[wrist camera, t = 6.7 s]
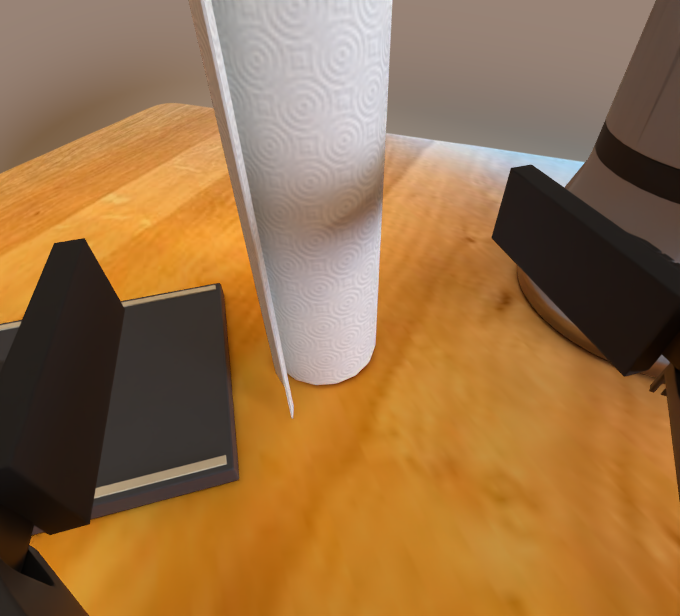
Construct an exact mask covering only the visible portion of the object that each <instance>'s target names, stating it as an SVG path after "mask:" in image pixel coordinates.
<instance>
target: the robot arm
mask: <svg viewBox="0 0 680 616" xmlns="http://www.w3.org/2000/svg"><path fill="white" fill-rule="evenodd" d="M492 239H493V240H494V241H495V242H496V243H497V244H498V245H499V246H500V247H501V248H502V249H503V250H504V252H505V253H506V254H507V255H508V256H509V257H510V258H511V259H512V260H513V261H514V262H515V263H516V264H517V275H518V280H519V283H520V286H521V288H522V290H523V292H524V294H525V296H526V298H527V299H528V301H529V302H530V304H531V305H532V306H533V308H534V309H535V310H536V311H537V312H538V313H539V314H540V315H541V316H542V318H543V319H544V320H545V321H547V322H548V323H549V324H550V325H551V326H552V327H553V328H555V329H556V330H557V331H558V332H560V333H561V334H562V335H564V336H565V337H567V338H568V339H570V340H571V341H572V342H574V343H575V344H577V345H579V346H580V347H582V348H584V349H586V350H587V351H589V352H591V353H593V354H595V355H597V356H599V357H601V358H603V359H605V360H607V361H610V362H611V363H612V364H613V365H614V367H615V368H616V369H617V370H618V371H619V372H620V373H621V374H622V375H623V376H624V377H625V376H629V375H632V374H636V373H642V374H645V375H648V376H652V377H656V379H655V380H654V382H653V383H652V384H651V385H650V389H649V391H650V392H655V391H656V390H657V389H658V387H659V386H660V385H661V384H665V385H666V388H665V389H664V391H663V392H662V393H661V395H664V396H667V402H668V410H669V418H670V426H671V435H672V443H673V451H674V459H675V467H676V476H677V484H678V492H679V500H680V0H656V1H655V4H654V6H653V9H652V11H651V13H650V16H649V18H648V20H647V23H646V25H645V27H644V30H643V32H642V34H641V37H640V40H639V42H638V44H637V46H636V49H635V51H634V53H633V56H632V58H631V61H630V63H629V65H628V68H627V70H626V72H625V74H624V77H623V79H622V82H621V84H620V86H619V89H618V91H617V93H616V96H615V98H614V101H613V103H612V105H611V108H610V110H609V112H608V115H607V117H606V120H605V122H604V125H603V127H602V130H601V132H600V134H599V137H598V139H597V142H596V143H595V146H594V148H593V151H592V153H591V155H590V157H589V158H588V160H587V161H586V162H585V163H584V164H583V166H582V167H581V168H580V169H579V171H578V172H577V173H576V174H575V175H574V177H573V178H572V179H571V180H570V181H569V183H568V184H567V185H566V186H565V188H564V187H563V186H561V185H560V184H558V183H557V182H555V181H554V180H553V179H551V178H550V177H548V176H547V175H546V174H544V173H543V172H541V171H540V170H539V169H537V168H536V167H534V166H533V165H526V166H520V167H514V168H511V170H510V174H509V177H508V181H507V184H506V188H505V192H504V195H503V199H502V202H501V206H500V210H499V213H498V217H497V220H496V224H495V228H494V231H493V235H492ZM124 313H125V308H124V307H123V305H122V303H121V301H120V300H119V298H118V296H117V294H116V293H115V291H114V289H113V287H112V286H111V284H110V282H109V280H108V279H107V277H106V275H105V273H104V272H103V270H102V268H101V266H100V265H99V263H98V261H97V259H96V258H95V256H94V254H93V252H92V251H91V249H90V247H89V245H88V244H87V242H86V240H85V238H83V239H77V240H71V241H65V242H59V243H54V245H53V248H52V250H51V252H50V255H49V257H48V259H47V262H46V264H45V267H44V269H43V271H42V274H41V276H40V279H39V281H38V283H37V286H36V288H35V290H34V293H33V295H32V298H31V300H30V302H29V305H28V307H27V310H26V312H25V314H24V317H23V319H22V321H21V324H20V326H19V329H18V331H17V333H16V336H15V338H14V341H13V343H12V345H11V348H10V350H9V353H8V355H7V357H6V360H4V361H0V616H89V615H88V614H87V613H86V611H85V610H84V609H83V608H82V606H81V605H80V604H79V602H78V601H77V600H76V599H75V597H74V596H73V595H72V594H71V592H70V591H69V590H68V589H67V587H66V586H65V585H64V584H63V582H62V581H61V580H60V579H59V577H58V576H57V575H56V574H55V572H54V571H53V570H52V568H51V567H50V566H49V565H48V563H47V562H46V561H45V560H44V558H43V557H42V556H41V555H40V553H39V552H38V551H37V550H36V549H35V548H33V547H31V546H30V545H29V543H30V539H31V536H32V532H33V528H34V526H36V527H37V528H39V529H41V530H42V531H44V532H46V533H47V534H49V535H52V534H55V533H59V532H62V531H66V530H70V529H73V528H77V527H81V526H84V525H88V524H90V520H91V514H92V508H93V502H94V496H95V489H96V483H97V477H98V471H99V465H100V459H101V453H102V447H103V441H104V435H105V429H106V423H107V417H108V411H109V404H110V398H111V392H112V386H113V380H114V374H115V368H116V362H117V356H118V350H119V344H120V338H121V332H122V326H123V320H124Z"/></svg>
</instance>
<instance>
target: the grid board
mask: <svg viewBox="0 0 680 616" xmlns="http://www.w3.org/2000/svg"><path fill="white" fill-rule="evenodd" d="M121 303H122V305H123V307H124V308H125V313H124V320H123V326H122V332H121V338H120V344H119V350H118V356H117V362H116V368H115V374H114V380H113V386H112V392H111V398H110V404H109V411H108V417H107V423H106V429H105V435H104V441H103V447H102V453H101V459H100V465H99V471H98V477H97V483H96V489H95V496H94V502H93V508H92V514H91V519H94V518H98V517H101V516H105V515H109V514H113V513H116V512H120V511H124V510H128V509H131V508H135V507H139V506H143V505H146V504H150V503H154V502H158V501H161V500H165V499H169V498H173V497H176V496H180V495H184V494H187V493H191V492H195V491H199V490H202V489H206V488H210V487H214V486H217V485H221V484H225V483H229V482H232V481H236V480H239V469H238V457H237V445H236V433H235V421H234V409H233V397H232V385H231V373H230V361H229V349H228V337H227V325H226V313H225V301H224V294H223V290H222V287H221V284H220V283H217V284H211V285H206V286H200V287H195V288H190V289H184V290H179V291H174V292H168V293H163V294H158V295H152V296H147V297H142V298H136V299H131V300H126V301H121ZM21 321H22V320H19V321H13V322H8V323H3V324H0V361H4V360H6V357H7V355H8V353H9V350H10V348H11V345H12V343H13V341H14V338H15V336H16V333H17V331H18V329H19V326H20V324H21ZM42 532H44V531H42V530H41V529H39V528H37V527H36V526H34V528H33V532H32V535H34V534H38V533H42Z"/></svg>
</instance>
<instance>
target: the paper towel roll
mask: <svg viewBox="0 0 680 616" xmlns="http://www.w3.org/2000/svg"><path fill="white" fill-rule="evenodd" d="M188 1H189V5H190V9H191V13H192V18H193V22H194V26H195V30H196V34H197V39H198V43H199V47H200V52H201V56H202V60H203V65H204V69H205V73H206V77H207V82H208V86H209V90H210V94H211V99H212V103H213V107H214V111H215V116H216V120H217V124H218V128H219V133H220V137H221V141H222V146H223V150H224V154H225V158H226V163H227V167H228V171H229V175H230V180H231V184H232V188H233V192H234V197H235V201H236V205H237V209H238V214H239V218H240V222H241V226H242V231H243V235H244V239H245V244H246V248H247V252H248V256H249V261H250V265H251V269H252V273H253V278H254V282H255V286H256V290H257V295H258V299H259V303H260V307H261V312H262V316H263V320H264V324H265V329H266V333H267V337H268V342H269V346H270V350H271V354H272V359H273V363H274V367H275V371H276V374H277V375H278V377H279V379H280V380H281V382H282V383H283V385H284V387H285V390H286V395H287V400H288V404H289V409H290V413H291V418H293V411H294V406H293V401H292V396H291V391H290V386H289V381H288V376H287V373H288V374H289V375H290V376H291V377H293V378H294V379H295V380H299V381H302V382H306V383H310V384H313V385H323V384H337V383H339V382H341V381H344V380H346V379H348V378H351V377H353V376H355V375H357V374H358V373H359V372H360V371H361V370H362V369H363V368H364V367H365V366H366V365H367V364H368V363H369V361H370V359H371V356H372V353H373V350H374V348H375V343H376V322H377V302H378V282H379V261H380V241H381V221H382V200H383V180H384V160H385V139H386V119H387V98H388V78H389V58H390V37H391V17H392V0H188Z"/></svg>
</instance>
